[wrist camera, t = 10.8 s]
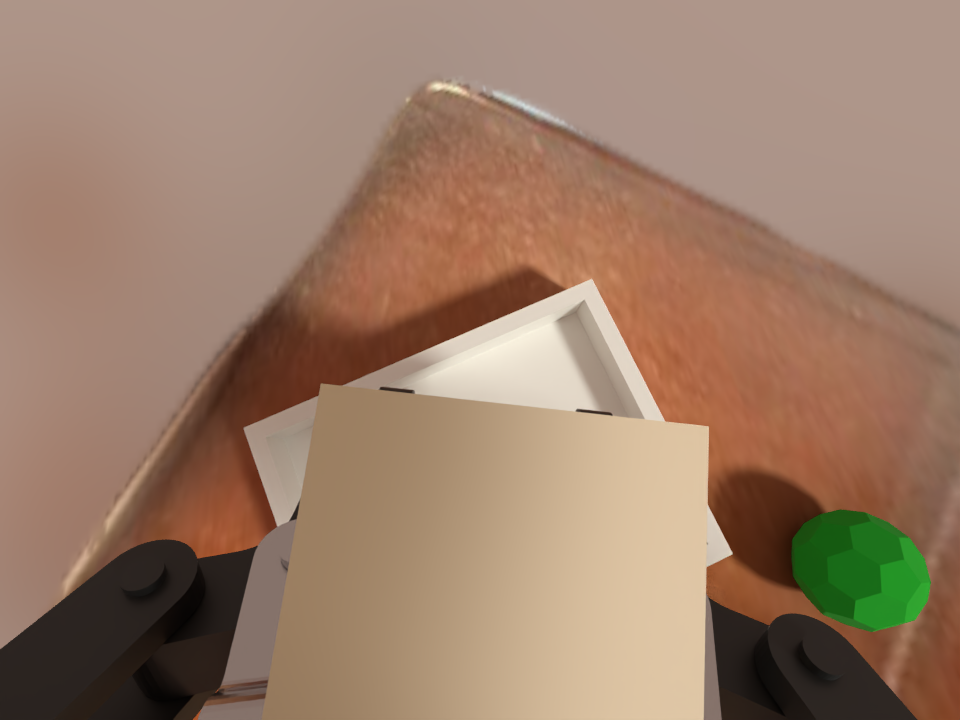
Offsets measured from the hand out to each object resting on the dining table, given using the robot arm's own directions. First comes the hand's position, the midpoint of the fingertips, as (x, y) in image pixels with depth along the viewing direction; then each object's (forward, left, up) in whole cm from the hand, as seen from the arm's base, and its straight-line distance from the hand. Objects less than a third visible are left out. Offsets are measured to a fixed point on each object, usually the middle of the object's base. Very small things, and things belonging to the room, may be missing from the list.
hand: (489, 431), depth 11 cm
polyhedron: (-13, +12, -15) cm, 23 cm away
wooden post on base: (+1, +2, -6) cm, 6 cm away
